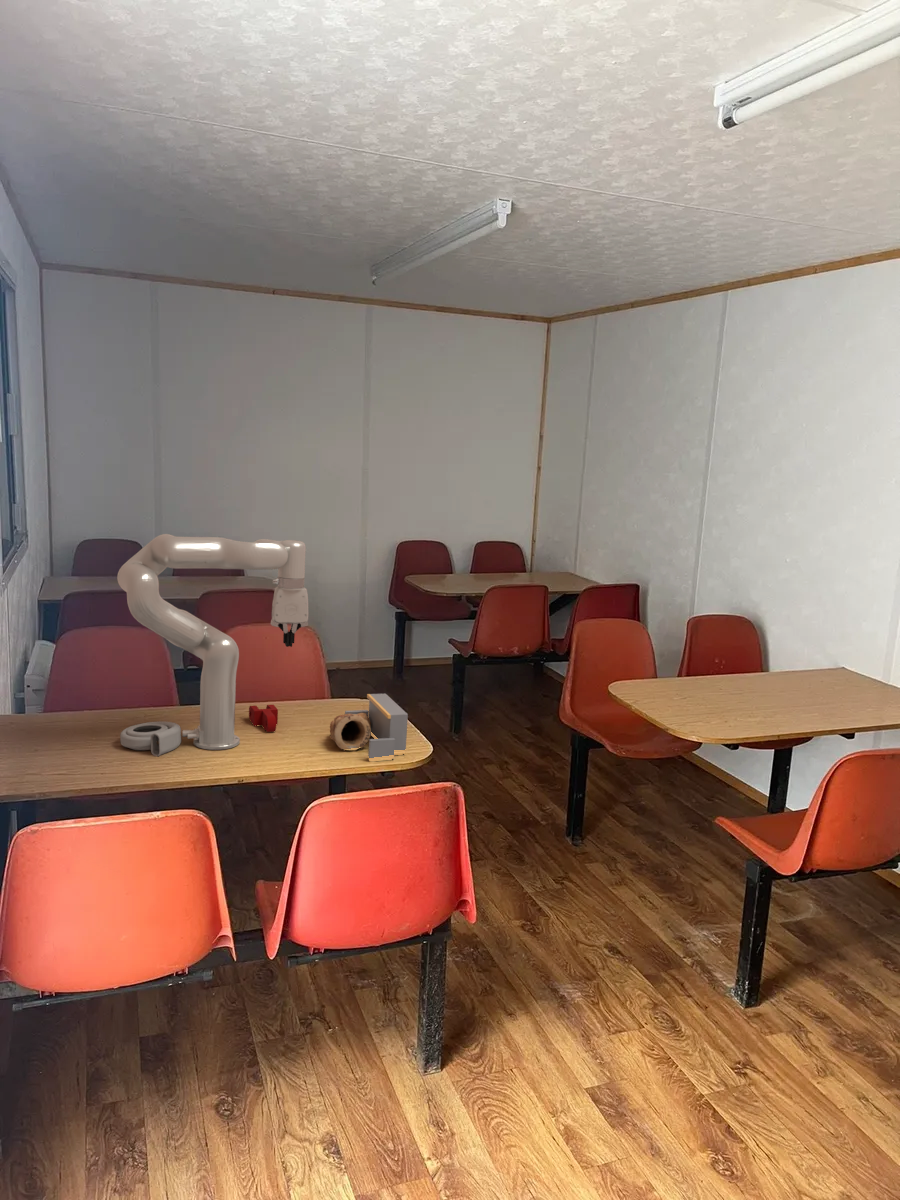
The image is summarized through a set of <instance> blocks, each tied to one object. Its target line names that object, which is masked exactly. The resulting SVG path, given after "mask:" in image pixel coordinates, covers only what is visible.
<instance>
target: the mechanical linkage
mask: <svg viewBox="0 0 900 1200" xmlns="http://www.w3.org/2000/svg"><path fill="white" fill-rule="evenodd" d="M248 719H250V720H251V721H250V720H249V721H250V723H251V722H252V723H253V724H252V723H251V724H252V725H254V726H253V727H258V726H257V725H262V726H263V727H264V728H263V727H262V726H261V727H262V728H263V729H264V730H266V731H267V732H266V731H265V732H266V733H275V732H276V729H277V725H278V719H279V709H278V708H277V707H276V706H275V705H274V704H267V705H266V708H259V707H258V706H257V705H249V707H248ZM276 724H277V725H276ZM255 725H256V726H255ZM274 731H275V732H274Z"/></svg>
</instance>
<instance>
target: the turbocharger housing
mask: <svg viewBox="0 0 900 1200" xmlns="http://www.w3.org/2000/svg"><path fill="white" fill-rule="evenodd" d="M119 737H120V744H121V746H122V747H124V748H129V750H133V751H134V750H135V751H150V752H151V754H152V755H153V757H160V756H162V755H164V754H166V753H169V752H171V751H174V750H175V749H177V748H178V747H179V746H180V745H181V743H182V728H181V726H180V725H179V723H176V722H171V721H148V722H143V723H138V724H135V725H130V726H128V727H125V729H123V730H122V731H121V732H120V736H119Z"/></svg>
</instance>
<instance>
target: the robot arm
mask: <svg viewBox="0 0 900 1200" xmlns="http://www.w3.org/2000/svg"><path fill="white" fill-rule="evenodd" d="M306 548H307V547H306V544H305V542H304V541H301V540H295V539H287V540H285V539H284V540H274V539H267V538H261V539H257V540H255V541H253V542H251V541H250V542H249V541H239V540H234V539H230V538H226V537H220V536H219V537H218V536H175V535H173V534H169V533H163V534H159V535H157V536H155V537H154V538H153V539H151V540H150V541H149V542H148V543H147V544H146V545H144V546H143V547H142V548H141V549H140V550H139V551H138V552H137V553H135V554H134V555H133V556H132V557H130V558H129V559H127V560H126V562H125V563H124V564H123V565H121V567H120V568H119V570H118V572H117V578H116V579H117V583H118V585H119V587H120V588H121V589H122V590H123V591H124V592H126V600H127V601H126V602H127V606H128V610H129V612H130V614H131V616H132V617H133V618H134V620H136V621H137V622H138V623H139V624H141V625H142V626H143V627H146V629H147V628H148V630H150V631H152V632H154V633H155V634H156V635H159V636H160V637H163V638H164V639H165V640H166V641H168V642H169V643H171V644H172V645H174V646H176V647H178V648H181V649H183V650H185V651H186V652H189V653H190V654H191V655H194V656H195V657H197V658H200V660H201V661H202V662H203V663H202V669H201V675H200V686H199V687H200V688H199V689H200V695H199V696H200V698H199V701H200V703H199V725H197V728H194V729H183V730H182V729H181V738H187V740H188V739H190V740H191V739H193V745H194V746H195V747H197V748H199V749H203V750H207V751H208V750H210V751H222V750H227V749H228V750H229V749H232V748H235V747H236V746H239V744H240V743H241V741H240V740H241V738H240V736H238V735H236V734H235V725H236V724H235V720H236V719H235V718H236V714H235V713H236V688H237V687H236V685H237V682H236V681H237V680H236V679H237V671H238V665H239V660H240V659H239V658H240V650H239V647H238V645H237V644H238V643H236V641H235V640H234V638H232V637H231V636H230V635H228V634H226V633H225V632H222V631H221V630H219V629H218V628H216V627H214V626H212V625H211V624H209V623H207V622H206V621H204V620H202V619H201V618H200V617H199V618H198V616H195V615H194V614H192V613H190V612H189V611H187V610H184V609H182V608H181V609H180V608H178V607H176V606H174V605H173V604H171V603H170V602H168V601H167V600H165V599H163V597H161V595H160V591H159V589H160V582H159V581H160V580H159V577H158V576H159V575H160V574H161V573H163V572H164V570H166V569H167V568H170V569H222V570H249V571H251V570H253V571H254V570H257V571H258V570H259V571H261V570H262V571H263V570H264V571H266V570H272V571H273V570H277V577H276V578H272V585H276V587H274V593H273V598H272V605H271V620H270V625H271V626H272V627H276V628H279V629H280V630H281V631H282V632H283V635H282V636H283V637H282V638H283V639H282V641H283V642H282V643H283V644H284V645H285V647H288V648H289V647H290V648H292V647H293V644H295V635H296V632H297V631H298V630H299V629H300V628H305V627H308V626H309V595H308V589H307V588H306V587H305V575H306V573H305V572H306V571H305V570H306V551H307V549H306ZM288 624H290V625H291V626H290V629H289V627H288Z"/></svg>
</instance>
